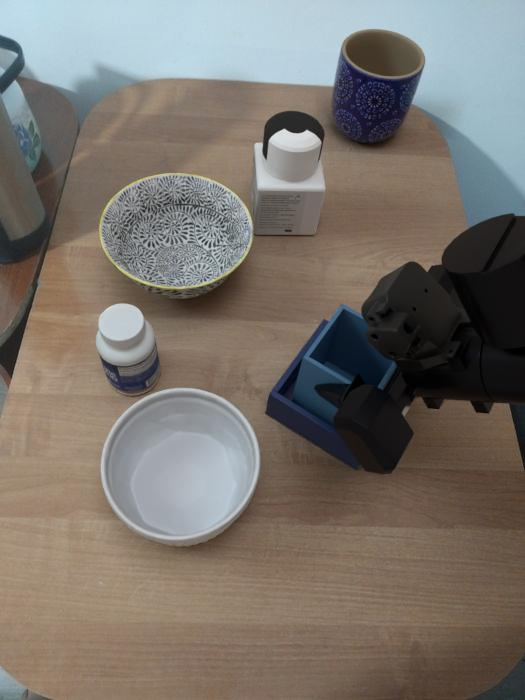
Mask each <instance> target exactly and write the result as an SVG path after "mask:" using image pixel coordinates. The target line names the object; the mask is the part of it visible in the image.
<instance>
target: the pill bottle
mask: <svg viewBox="0 0 525 700" xmlns="http://www.w3.org/2000/svg"><path fill="white" fill-rule="evenodd" d="M97 324H98V329H97V331H96V335H95V345H96V350H97V352H98V355H99V359H100V362H101V364H102V367H103V370H104V373H105V375H106V378H107V380H108V382H109V384H110V386H111V387H112V389H113V390H114V391H116V392H117V393H119V394H120V395H124V396H131V397H132V396H133V397H134V396H140V395H144V394H146V393H147V392H149V391H151V390H152V389H153V388H154V387H155V386H156V384H157V383H158V382H159V379H160V376H161V363H160V359H159V352H158V346H157V340H156V334H155V331H154V329H153V327H152V325H151V324H150V322H149V321H148V320H147V319H145V317H144V314H143V312H142V311H141V310H140V309H139V308H138V307H137V306H135V305H133V304H131V303H116V304H112V305H110V306H109V307H107V308H106V309H104V310H103V311H102V313H101V314H100V315H99V317H98V323H97Z"/></svg>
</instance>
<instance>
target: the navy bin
mask: <svg viewBox="0 0 525 700" xmlns="http://www.w3.org/2000/svg"><path fill="white" fill-rule="evenodd" d="M329 321H330V320H328V319H325V318H323V319H322V320H321V322H320V324H319V325H318V326H317V327H316V329H315V331H314V332H313V333H312V335H311V336H310V337H309V339H308V340H307V341H306V343H305V344H304V345H303V346H302V348H301V350H300V351H299V352H298V353H297V355H296V357H294V359H293V360H292V361H291V363H290V365H289V366H288V367H287V369H285V371H284V372H283V374H282V375H281V377H280V378H279V379H278V381H277V382H276V383H275V385H274V386H273V387H272V389H271V390H270V392H269V393H268V397H267V403H266V407H265V415H267V416H268V417H270V418H272V419H273V420H275V421H276V422H278V423H279V424H281V425H283V426H285V427H286V428H287V429H289V430H291V432H294V433H295V434H297V435H299V436H300V437H302V438H303V439H305V440H307V441H308V442H310V443H311V444H313V445H315V446H316V447H318V448H320V449H321V450H323V451H324V452H326V453H327V454H329V455H331V456H332V457H334V458H335V459H337V460H338V461H340V462H341V463H343V464H345V465H346V466H348V467H349V468H351V469H352V470H354V471H358V469H359V468H360V466H361V465H360V464H359V462H358V461H357V460H356V458H355V457H354V455H353V454H352V453H351V451H350V450H349V449H348V447H347V446H346V445H345V443H344V442H343V440H342V439H341V438H340V436H339V435H338V434H337V432H336V431H335V430H334V428H333V427H332V426H331V425H329V424H327V423H326V422H324V421H323V420H321V419H319V418H318V417H316V416H315V415H313V414H311V413H310V412H308V411H306V410H305V409H303V408H302V407H300V406H298V405H297V404H295V403H293V402H292V397H293V393H294V390H295V386H296V382H297V378H298V374H299V371H300V367H301V363H302V359H303V357H304V355H305V354H306V353H307V351H308V350H309V349H310V347H311V346H312V344H313V343H314V342H315V340H316V339H317V337H318V336H319V335H320V333H321V332H322V331H323V329H324V328H325V326H326V325H327V324H328V322H329ZM397 371H398V368H397V367H396V369H395V371H394V373H393V374H392V376H391V378H390V380H389V381H388V383H387V385H386V387H385V388H384V390H383V391H386V389H387V388H388V386H389V384H390V383H391V381H392V379H393V378H394V376H395V375H396V373H397Z"/></svg>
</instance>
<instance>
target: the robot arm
mask: <svg viewBox="0 0 525 700" xmlns="http://www.w3.org/2000/svg"><path fill="white" fill-rule="evenodd" d="M440 262H441V264H434V265H430V267H429V268H428V271H427V270H426V269H425V268H424V266H422V265H421V264H420V263H418V262H417V261H414V260H411V261H408V262H406V263H403V264H402V265H401V266H399V267H397V268H395V269H394V270H392V271H391V272H389V273H387V274H386V275H384V276H382V277H381V278H380V279H379V280H378V282H377V284H376V286H375V287H374V288H373V290H372V292H370V294H369V296H368V297H367V298H366V299H365V301H364V302H363V303H362V305H361V307H360V314H362V317H363V319H364V320H365V321H366V322H367V323H368V324H369V329H368V330H367V332H366V333H365V336H366V339H367V341H368V342H369V343H370V344H371V345H372V346H373V347H374V348H375V349H376V350H377V351H378V352H379V353H381V354H382V355H383V356H384V357H385V358H386V359H389V360H393V361H394V362H395V364H396V367H397V368H398V371H397V373H396V375H395V376H394V378H393V379H392V381H391V383H390V384H389V386H388V388H387V389H386V391H383V390H382V389H380V388H378V387H377V386H375V385H366V383H365V382H364V380H363V379H362V377H361V376H360V374H359V373H358V374H357V375H356V376H355V378H354V379H353V381H352V382H351V384H337V383H324V384H317V385H315V387H314V389H315V391H316V392H317V394H318V395H319V396H321V397H322V398H323V399H325V400H326V401H328V402H329V403H331V404H332V405H334V406H335V407H336V408H338V409H339V410H338V411H337V413H336V414H335V416H334V417H333V428H334V430H335V431H336V432H337V434H338V435H339V436H340V438H341V439H342V440H343V442H344V443H345V445H346V446H347V447H348V449H349V450H350V451H351V453H352V454H353V455H354V457H355V458H356V460H357V461H358V462H359V464H360V466H361V468H362V469H363V470H364V472H368V473H371V474H378V475H391V474H392V473H393V472H394V471H395V469H397V467H398V465H399V463H400V461H401V459H402V457H403V456H404V454H405V451H406V450H407V448H408V446H409V444H410V443H411V441H412V439H413V437H414V435H415V431H414V430H413V428H412V427H411V424H409V422H408V420H407V419H406V415H407V413H408V411H409V410H410V408H411V406H412V405H413V403H414V401H415V399H416V398H421V399H422V401H423V403H424V404H425V406H426V407H427V409H428V410H440V409H441V407H442V405H443V403H444V401H445V400H446V401H448V400H449V401H463V402H470V404H471V406H472V409H473V410H474V412H475V413H476V414H485V415H489V414H490V412H491V411H492V409H493V407H494V405H495V404H507V405H508V404H509V405H519V406H520V405H521V406H525V215H516V214H515V213H514V212H510V213H505V214H500V215H497V216H493V217H490V218H487V219H485V220H482V221H480V222H478V223H476V224H474V225H472V226H470V227H469V228H467V229H466V230H464V231H462V232H461V233H459V234H458V235H457V236H456V237H454V238H453V240H451V241H450V243H449V244H448V245H446V247H445V249H444V250H443V251H442V255H441V261H440Z"/></svg>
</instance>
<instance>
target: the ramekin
mask: <svg viewBox="0 0 525 700" xmlns="http://www.w3.org/2000/svg"><path fill="white" fill-rule="evenodd" d="M260 449H261V448H260V443H259V441H258V437H257V435H256V432H255V430H254V427H253V426H252V425H251V423H250V421H249V420H248V418H247V417H246V416H245V414H244V413H242V411H241V410H240V409H239V408H238V407H236V406H235V405H234V404H233V403H232V402H230V401H229V400H227V399H226V398H225V397H222V396H220V395H218V394H216V393H214V392H211V391H208V390H204V389H202V388H201V389H199V388H194V387H174V388H166V389H162V390H159V391H157V392H153V393H150V394H149V395H146V396H144V397H142V398H141V399H139V400H138V401H136V402H135V403H133V404H132V405H131V406H130V407H128V408H127V409H125V411H123V413H122V414H120V416H119V417H118V418H117V420H116V421H115V422H114V423H113V425H112V427H111V429H110V430H109V432H108V434H107V437H106V438H105V441H104V445H103V448H102V452H101V457H100V465H99V468H100V477H101V478H100V479H101V484H102V488H103V492H104V494H105V497H106V500H107V501H108V504H109V505H110V507H111V509H112V510H113V512H114V514H115V515H116V516H117V518H118V519H119V520H120V521H121V522H122V523H123V524H124V525H125V526H126V527H128V529H130V530H131V531H132V532H134V533H136V534H137V535H139V536H141V537H143V538H145V539H147V540H151V541H154V542H157V543H158V544H162V545H167V546H170V547H173V546H174V547H190V546H192V545H194V546H195V545H197V546H198V545H199V544H200V543H206V542H208V541H209V540H213V539H215V538H216V537H217V536H218V535H220V534H223V532H225V530H227V529H228V528H229V527H231V525H232V524H233V523H234V522H235V521H236V520H237V519H238V518H239V517H241V515H242V514H243V513H244V511H245V510H246V509H247V507H248V506H249V504H250V502H251V500H252V499H253V497H254V494H255V493H256V490H257V487H258V484H259V480H260V476H261V464H262V463H261V461H262V460H261V450H260Z"/></svg>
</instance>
